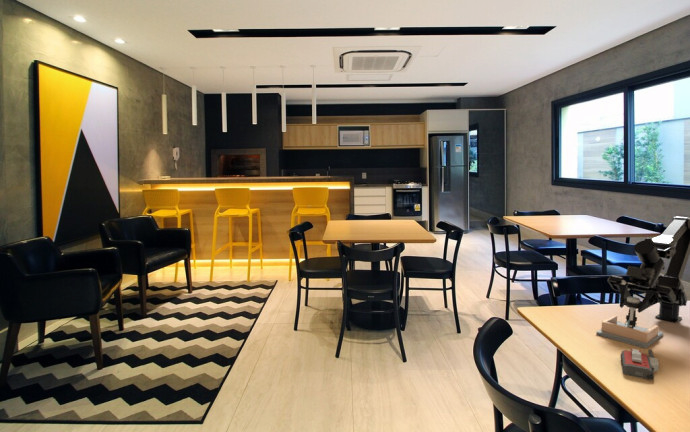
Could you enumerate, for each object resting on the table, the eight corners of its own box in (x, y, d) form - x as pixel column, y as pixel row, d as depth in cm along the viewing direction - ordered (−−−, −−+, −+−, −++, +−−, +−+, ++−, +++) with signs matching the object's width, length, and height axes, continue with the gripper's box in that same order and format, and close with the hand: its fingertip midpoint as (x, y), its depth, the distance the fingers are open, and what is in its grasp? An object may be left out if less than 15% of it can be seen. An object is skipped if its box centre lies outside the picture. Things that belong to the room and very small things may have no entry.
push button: (639, 333, 136) (642, 303, 135) (619, 329, 140) (622, 299, 138) (640, 326, 142) (644, 297, 140) (621, 322, 145) (624, 294, 143)
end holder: (615, 323, 151) (616, 312, 151) (663, 335, 140) (664, 323, 139) (596, 334, 141) (597, 322, 141) (645, 348, 130) (646, 335, 130)
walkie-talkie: (662, 385, 109) (654, 355, 126) (664, 369, 109) (655, 341, 126) (622, 377, 114) (619, 349, 131) (623, 361, 113) (620, 335, 130)
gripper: (611, 252, 148) (591, 288, 144) (674, 262, 131) (653, 303, 127) (622, 271, 152) (603, 306, 148) (684, 283, 136) (664, 323, 132)
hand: (629, 309), depth 139 cm, fingers closed on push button, 5 cm apart
